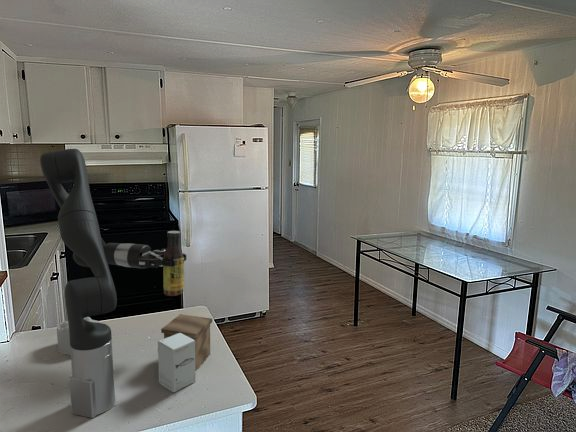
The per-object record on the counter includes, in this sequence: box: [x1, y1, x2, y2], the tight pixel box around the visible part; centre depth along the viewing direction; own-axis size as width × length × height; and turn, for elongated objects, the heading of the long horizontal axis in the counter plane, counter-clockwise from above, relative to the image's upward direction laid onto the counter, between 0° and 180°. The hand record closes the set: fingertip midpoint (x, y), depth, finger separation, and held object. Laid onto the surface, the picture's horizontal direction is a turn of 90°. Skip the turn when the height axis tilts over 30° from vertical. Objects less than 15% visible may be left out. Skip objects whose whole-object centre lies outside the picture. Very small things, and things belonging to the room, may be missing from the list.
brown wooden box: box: [160, 313, 213, 372], centre depth 124 cm, size 11×11×12 cm
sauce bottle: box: [162, 230, 185, 297], centre depth 128 cm, size 7×6×20 cm
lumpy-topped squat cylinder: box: [56, 316, 101, 356], centre depth 131 cm, size 10×13×9 cm
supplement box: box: [157, 333, 196, 394], centre depth 113 cm, size 7×7×13 cm
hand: (180, 260), depth 127 cm, fingers closed on sauce bottle, 6 cm apart
